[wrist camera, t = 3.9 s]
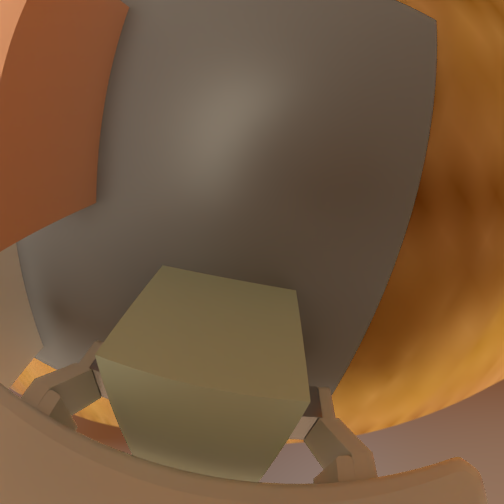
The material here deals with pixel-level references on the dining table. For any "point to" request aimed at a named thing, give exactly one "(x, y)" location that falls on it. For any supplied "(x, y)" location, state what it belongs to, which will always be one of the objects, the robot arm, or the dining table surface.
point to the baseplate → (239, 172)
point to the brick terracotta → (52, 107)
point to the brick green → (207, 373)
